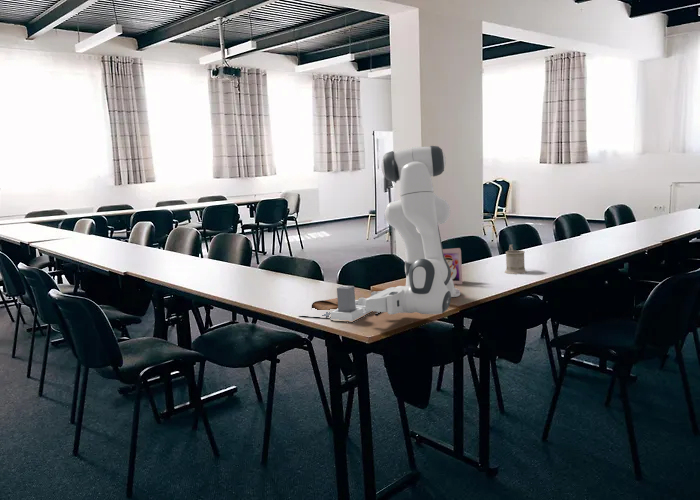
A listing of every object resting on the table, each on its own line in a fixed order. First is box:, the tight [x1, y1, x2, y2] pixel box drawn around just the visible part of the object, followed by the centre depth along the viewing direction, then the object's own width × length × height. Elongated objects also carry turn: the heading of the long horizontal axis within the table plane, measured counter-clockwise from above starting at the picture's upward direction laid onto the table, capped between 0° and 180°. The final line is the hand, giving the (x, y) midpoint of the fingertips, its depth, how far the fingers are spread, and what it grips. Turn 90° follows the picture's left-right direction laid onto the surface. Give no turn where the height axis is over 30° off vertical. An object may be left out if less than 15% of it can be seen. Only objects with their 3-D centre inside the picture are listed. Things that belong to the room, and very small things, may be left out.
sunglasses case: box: [311, 297, 338, 310], centre depth 217 cm, size 18×7×7 cm
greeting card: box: [442, 247, 463, 285], centre depth 250 cm, size 11×7×15 cm, turn 64°
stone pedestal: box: [504, 244, 527, 275], centre depth 266 cm, size 14×10×12 cm
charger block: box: [336, 285, 356, 313], centre depth 200 cm, size 4×4×10 cm
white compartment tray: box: [329, 299, 371, 321], centre depth 206 cm, size 21×9×3 cm, turn 151°
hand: (365, 297), depth 196 cm, fingers open, 8 cm apart
